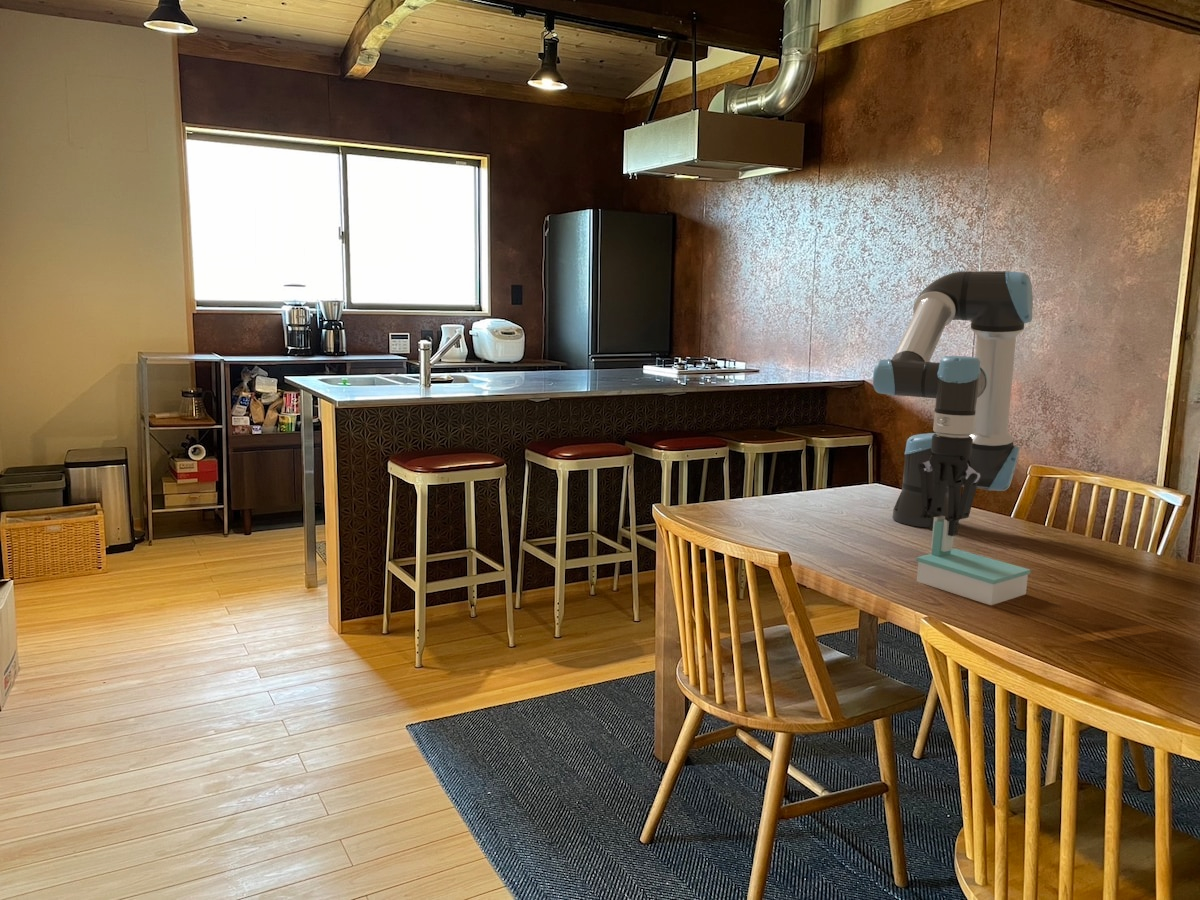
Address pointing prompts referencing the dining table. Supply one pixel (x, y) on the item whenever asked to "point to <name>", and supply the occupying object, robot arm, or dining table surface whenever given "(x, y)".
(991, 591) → the tub
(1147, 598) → the dining table surface
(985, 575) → the lid
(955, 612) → the dining table surface
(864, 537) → the dining table surface
